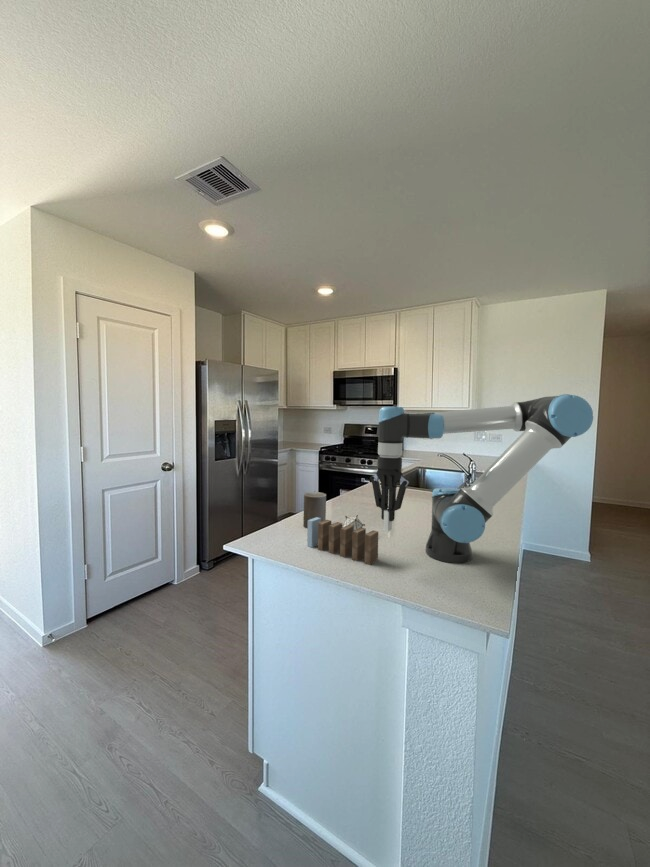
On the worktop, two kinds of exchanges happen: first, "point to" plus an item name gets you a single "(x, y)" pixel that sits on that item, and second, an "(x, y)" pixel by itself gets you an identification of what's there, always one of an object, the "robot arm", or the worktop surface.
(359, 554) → the domino
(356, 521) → the game die
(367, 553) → the domino
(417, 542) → the worktop surface
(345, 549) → the domino
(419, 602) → the worktop surface
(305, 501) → the pillar candle
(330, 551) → the domino
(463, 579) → the worktop surface
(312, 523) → the domino
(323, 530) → the domino
